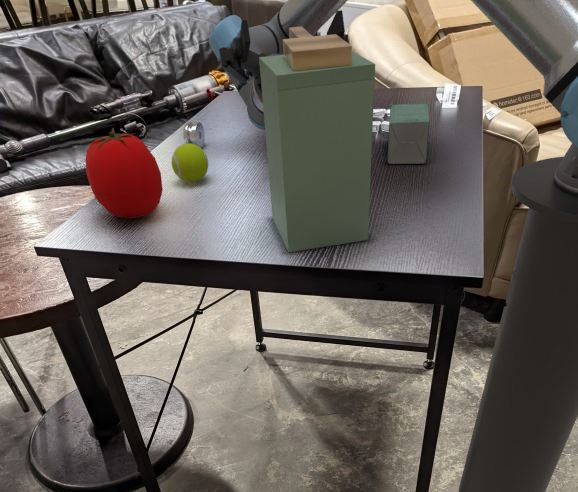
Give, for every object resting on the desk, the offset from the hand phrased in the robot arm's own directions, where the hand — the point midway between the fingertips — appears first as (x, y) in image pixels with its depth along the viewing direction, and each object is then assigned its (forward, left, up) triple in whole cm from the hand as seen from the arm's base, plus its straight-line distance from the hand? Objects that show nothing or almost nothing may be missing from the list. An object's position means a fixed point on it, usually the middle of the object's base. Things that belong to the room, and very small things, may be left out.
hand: (294, 26), depth 72 cm
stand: (-6, +9, -25) cm, 27 cm away
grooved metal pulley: (+34, -22, -25) cm, 48 cm away
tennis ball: (+24, -4, -25) cm, 35 cm away
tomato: (+26, +12, -25) cm, 38 cm away
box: (-11, -28, -25) cm, 39 cm away
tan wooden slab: (-3, +4, -2) cm, 6 cm away
